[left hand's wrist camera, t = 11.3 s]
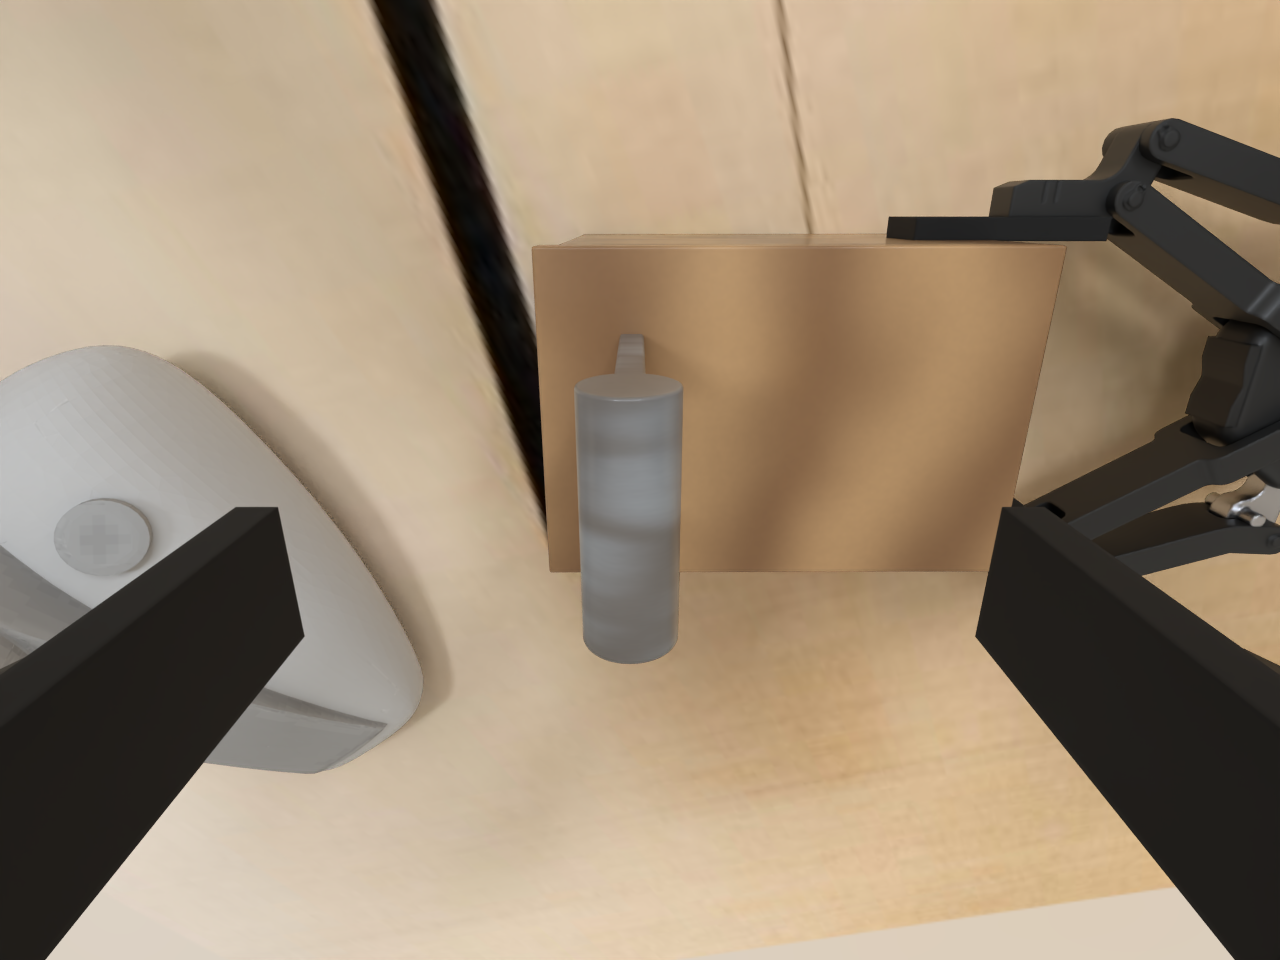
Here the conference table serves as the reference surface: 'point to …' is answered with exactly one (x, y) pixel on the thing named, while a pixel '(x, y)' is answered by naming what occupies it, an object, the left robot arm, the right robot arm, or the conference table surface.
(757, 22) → the conference table surface
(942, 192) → the conference table surface
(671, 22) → the conference table surface
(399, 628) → the projector
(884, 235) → the chest
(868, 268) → the lid
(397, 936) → the conference table surface
